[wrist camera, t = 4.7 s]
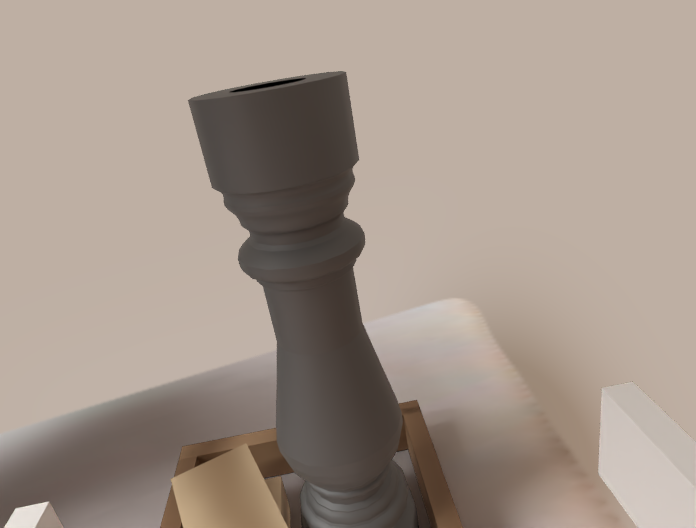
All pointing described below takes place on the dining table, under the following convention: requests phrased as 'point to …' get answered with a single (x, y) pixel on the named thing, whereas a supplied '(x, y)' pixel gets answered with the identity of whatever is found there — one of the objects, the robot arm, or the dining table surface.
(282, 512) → the offcut lower
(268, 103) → the candle holder
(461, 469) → the dining table surface
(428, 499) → the walnut caddy
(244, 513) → the offcut upper
